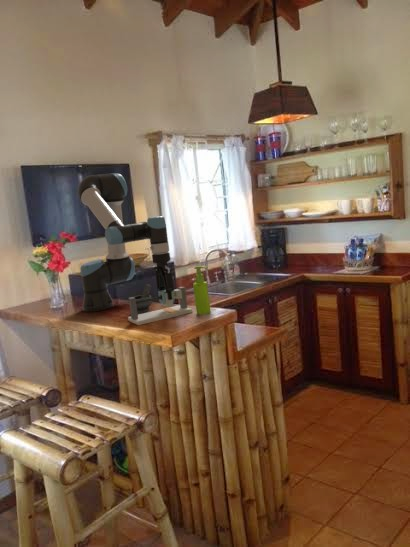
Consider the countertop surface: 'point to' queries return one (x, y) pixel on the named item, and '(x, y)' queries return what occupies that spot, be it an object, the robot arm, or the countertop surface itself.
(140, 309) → the mortar and pestle
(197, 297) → the soap dispenser
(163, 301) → the marker sleeve
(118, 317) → the countertop surface
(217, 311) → the countertop surface
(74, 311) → the countertop surface
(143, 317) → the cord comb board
